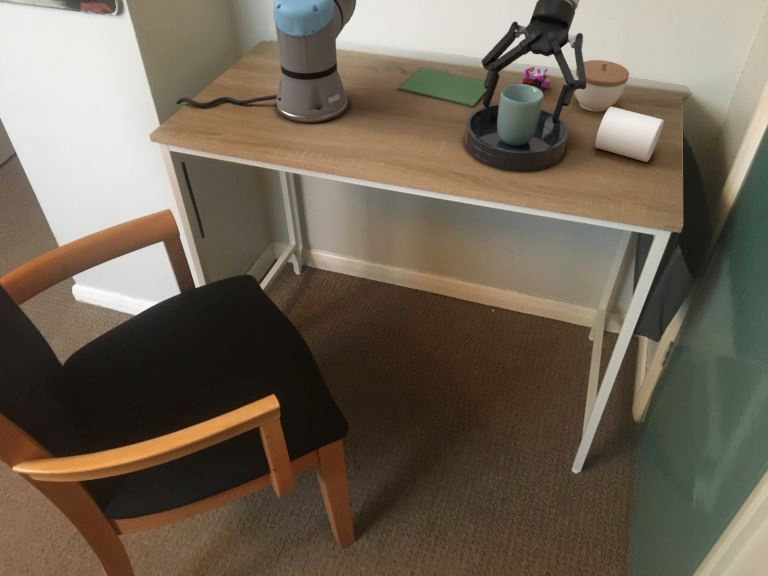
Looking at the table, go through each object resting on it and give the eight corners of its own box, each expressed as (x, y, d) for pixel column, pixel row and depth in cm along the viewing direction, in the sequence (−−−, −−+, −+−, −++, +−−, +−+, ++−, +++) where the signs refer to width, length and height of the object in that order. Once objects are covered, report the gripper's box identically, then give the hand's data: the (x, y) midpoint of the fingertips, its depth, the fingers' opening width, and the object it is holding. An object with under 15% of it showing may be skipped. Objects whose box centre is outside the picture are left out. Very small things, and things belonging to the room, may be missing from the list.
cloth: (399, 89, 138) (399, 87, 138) (421, 69, 145) (421, 67, 145) (473, 106, 132) (473, 105, 131) (492, 84, 139) (492, 83, 139)
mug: (643, 169, 114) (656, 131, 108) (591, 154, 118) (601, 116, 112) (659, 141, 121) (673, 104, 116) (610, 128, 125) (620, 91, 119)
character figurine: (529, 77, 144) (515, 92, 135) (534, 55, 141) (520, 69, 132) (553, 83, 142) (540, 98, 134) (558, 61, 139) (546, 75, 131)
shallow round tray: (449, 155, 117) (450, 137, 115) (485, 112, 130) (487, 95, 127) (547, 181, 111) (551, 162, 108) (575, 134, 123) (579, 116, 120)
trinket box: (566, 112, 130) (576, 70, 123) (570, 90, 137) (580, 49, 131) (618, 120, 127) (631, 76, 121) (620, 97, 135) (632, 55, 128)
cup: (507, 127, 124) (514, 80, 117) (541, 139, 120) (551, 91, 113) (486, 142, 119) (493, 94, 112) (521, 155, 116) (530, 107, 109)
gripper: (623, 26, 114) (585, 134, 115) (496, 5, 122) (462, 106, 123) (624, 6, 107) (584, 121, 108) (490, -15, 115) (454, 91, 116)
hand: (519, 113), depth 115 cm, fingers open, 13 cm apart
